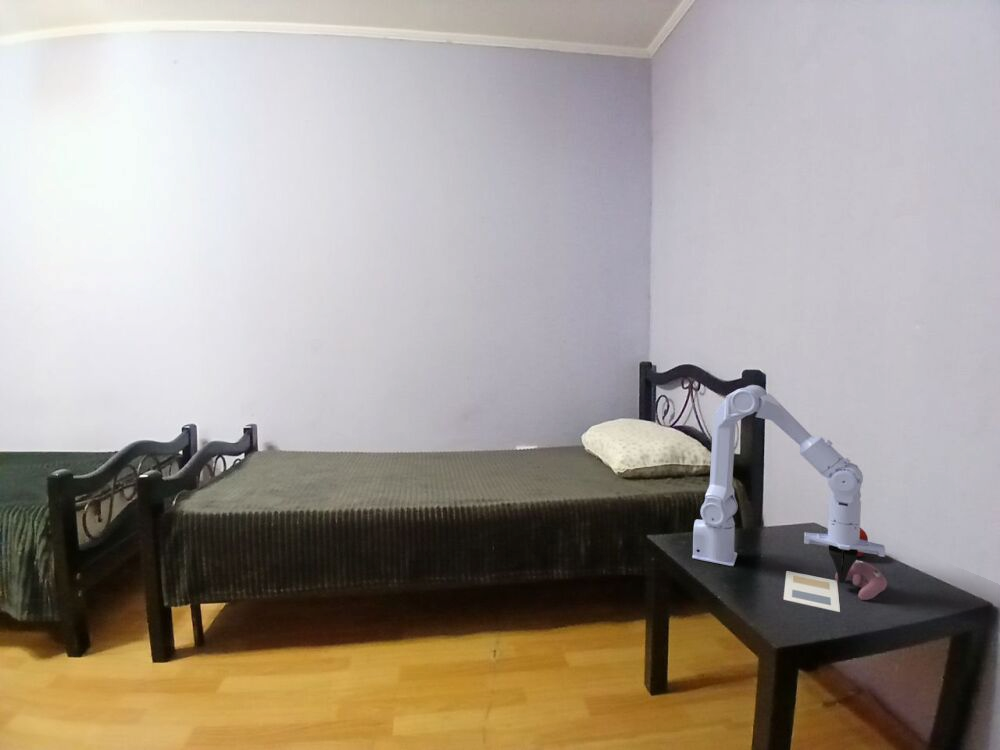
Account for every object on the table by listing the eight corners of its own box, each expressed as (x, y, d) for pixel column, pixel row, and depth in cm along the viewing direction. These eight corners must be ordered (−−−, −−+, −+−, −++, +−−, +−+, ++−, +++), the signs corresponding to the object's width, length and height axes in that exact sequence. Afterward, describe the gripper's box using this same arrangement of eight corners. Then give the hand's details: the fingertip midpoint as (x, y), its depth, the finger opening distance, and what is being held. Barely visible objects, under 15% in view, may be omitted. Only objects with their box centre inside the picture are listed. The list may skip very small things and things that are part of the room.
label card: (783, 601, 109) (783, 599, 109) (786, 572, 122) (786, 570, 122) (839, 614, 104) (840, 611, 104) (836, 582, 117) (836, 580, 117)
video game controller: (878, 608, 108) (896, 580, 107) (858, 599, 108) (876, 570, 107) (849, 585, 118) (865, 559, 117) (831, 576, 118) (846, 550, 117)
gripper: (804, 520, 112) (802, 580, 113) (888, 532, 105) (884, 597, 106) (805, 510, 118) (803, 567, 119) (883, 521, 111) (881, 582, 112)
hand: (841, 580), depth 113 cm, fingers closed
